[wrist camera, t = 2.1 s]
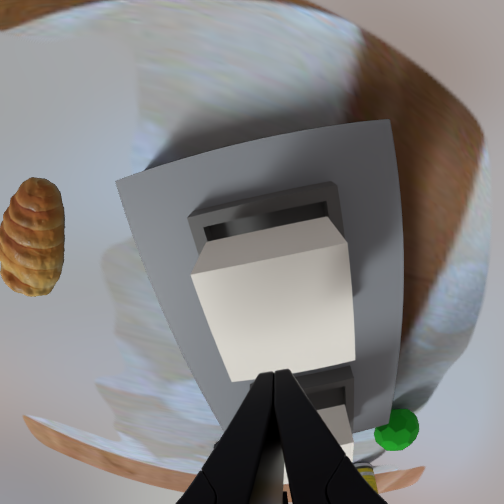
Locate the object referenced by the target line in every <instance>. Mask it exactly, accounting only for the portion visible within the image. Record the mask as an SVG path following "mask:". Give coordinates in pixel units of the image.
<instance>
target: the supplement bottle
mask: <svg viewBox="0 0 504 504" xmlns="http://www.w3.org/2000/svg"><path fill="white" fill-rule="evenodd" d="M354 466H355V467H356V468H357V470H358V471H359V472H360V474H361V475H362V476H363V478H364V479H365V480H366V481H367V482H368V484H369V485H370V486H371V487H372V488H373V489H374V490H375V491H376V492H377V493H378V490H377V486H376V481H375V476H374V472H373V468H372V465H371V464H370V463H356V464H354Z"/></svg>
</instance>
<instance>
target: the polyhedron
mask: <svg viewBox="0 0 504 504" xmlns="http://www.w3.org/2000/svg"><path fill="white" fill-rule="evenodd" d="M418 432H419V423H418V420H417V417H416V415H415V414H414V413H413V412H411V411H410V410H408V409H393V410H391V413H390V418H389V423H388V424H385V425H382V426H379V427H376V428H375V432H374V436H375V440H376V442H377V443H378V444H379V445H380V446H382V447H383V448H384V449H385V450H387V451H398V450H403V449H405V448H406V447H408V446H409V445H410V444H411V443H412V442H413V441H414V440H415V439H416V437H417V435H418Z"/></svg>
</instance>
